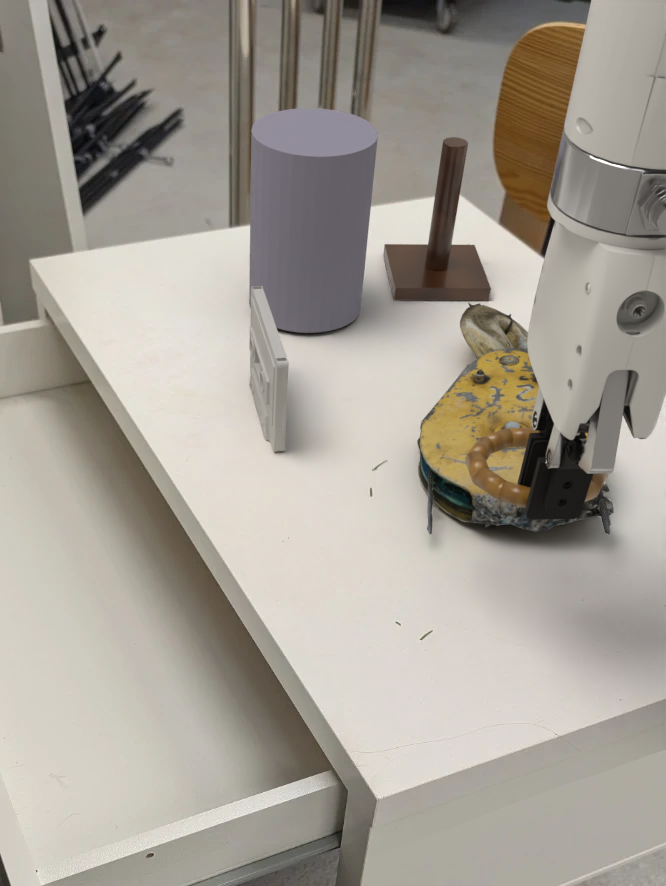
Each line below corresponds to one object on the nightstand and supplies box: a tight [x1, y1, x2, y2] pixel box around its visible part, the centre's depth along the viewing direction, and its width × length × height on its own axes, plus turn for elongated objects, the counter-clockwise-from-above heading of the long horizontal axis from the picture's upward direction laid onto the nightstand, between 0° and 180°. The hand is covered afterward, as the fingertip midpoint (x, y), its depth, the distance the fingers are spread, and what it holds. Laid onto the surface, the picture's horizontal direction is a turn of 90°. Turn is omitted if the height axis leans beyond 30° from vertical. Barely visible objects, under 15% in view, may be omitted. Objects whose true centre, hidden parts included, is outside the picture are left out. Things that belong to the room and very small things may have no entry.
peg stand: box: [382, 136, 492, 301], centre depth 94 cm, size 9×9×12 cm
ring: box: [465, 428, 609, 508], centre depth 63 cm, size 8×8×1 cm
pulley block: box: [416, 301, 614, 536], centre depth 80 cm, size 14×6×30 cm
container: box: [248, 107, 379, 334], centre depth 89 cm, size 10×10×15 cm
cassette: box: [248, 286, 290, 453], centre depth 80 cm, size 12×2×8 cm, turn 9°
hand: (547, 502), depth 61 cm, fingers closed on ring, 1 cm apart
